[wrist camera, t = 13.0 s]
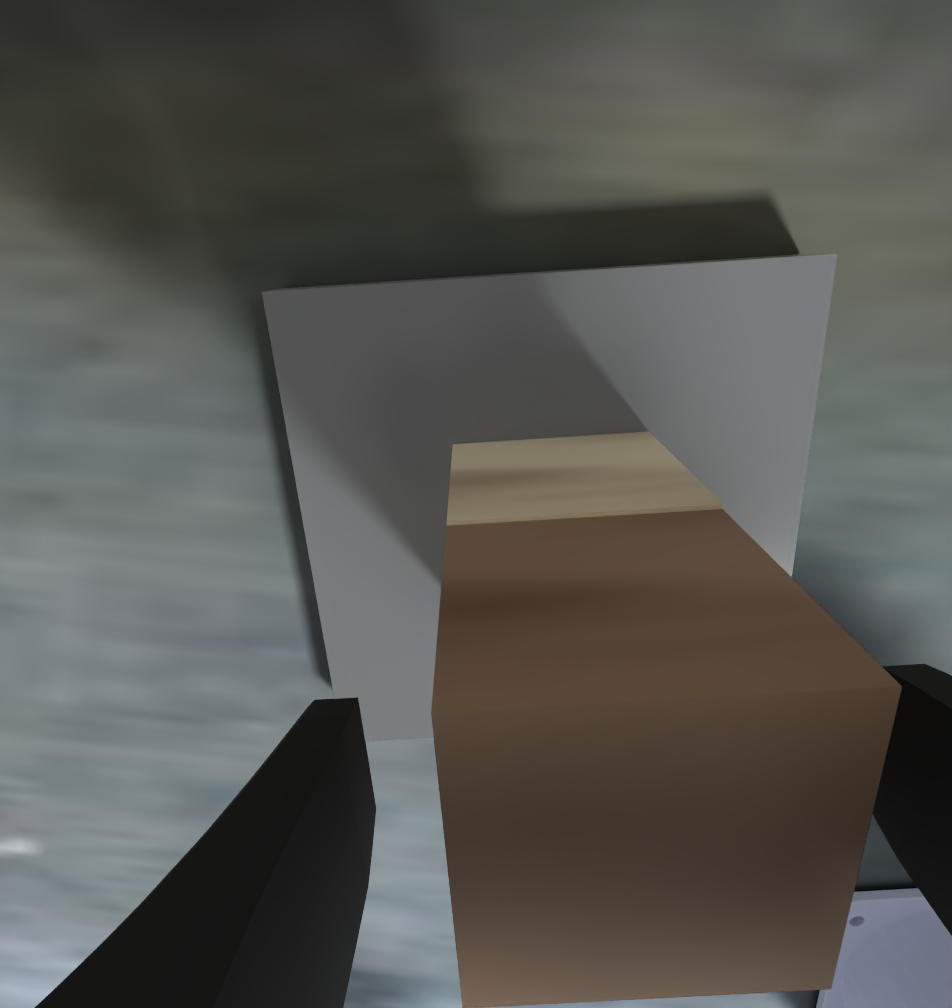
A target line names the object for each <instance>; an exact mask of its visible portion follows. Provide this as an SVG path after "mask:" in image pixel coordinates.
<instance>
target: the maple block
mask: <svg viewBox="0 0 952 1008" xmlns="http://www.w3.org/2000/svg"><path fill="white" fill-rule="evenodd" d="M715 509H724V504H723V503H722V502H721V501H720V500H719V499H718V498H717V497H716V496H715V495H714V494H713V493H712V492H711V491H710V490H709V489H708V488H707V487H706V486H705V485H704V484H703V483H702V482H701V481H699V480H698V479H697V478H696V477H695V476H694V475H693V474H692V473H691V472H690V471H689V470H688V469H687V468H686V467H685V466H684V465H683V464H682V463H681V462H680V461H679V460H678V459H677V458H676V457H675V456H674V455H673V454H671V453H670V452H669V451H668V450H667V449H666V448H665V447H664V446H663V445H662V444H661V443H660V442H659V441H658V440H657V439H656V438H655V437H654V436H653V435H652V434H651V433H650V432H635V433H619V434H604V435H589V436H573V437H558V438H543V439H527V440H512V441H497V442H481V443H466V444H453V446H452V459H451V472H450V484H449V497H448V510H447V526H448V525H465V524H481V523H498V522H515V521H531V520H548V519H565V518H581V517H598V516H615V515H631V514H648V513H665V512H681V511H698V510H715Z"/></svg>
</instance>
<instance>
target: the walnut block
mask: <svg viewBox="0 0 952 1008" xmlns="http://www.w3.org/2000/svg"><path fill="white" fill-rule="evenodd" d="M901 689H902V686H901V685H900V684H899V683H898V682H897V681H896V680H895V679H894V678H893V677H892V676H891V675H890V674H889V673H888V672H887V671H886V670H885V669H884V668H883V667H882V666H881V665H880V664H879V663H878V662H877V661H876V660H875V659H874V658H873V657H872V656H871V655H870V654H869V653H868V652H867V651H866V650H865V649H864V648H863V647H862V646H861V645H860V644H859V643H858V642H857V641H855V640H854V639H853V638H852V637H851V636H850V635H849V634H848V633H847V632H846V631H845V630H844V629H843V628H842V627H841V626H840V625H839V624H838V623H837V622H836V621H835V620H834V619H833V618H832V617H831V616H830V615H829V614H828V613H827V612H826V611H825V610H824V609H823V608H822V607H821V606H820V605H819V604H818V603H817V602H816V601H815V600H814V599H813V598H812V597H811V596H810V595H809V594H808V593H807V592H806V591H805V590H804V589H803V588H802V587H801V586H800V585H799V584H798V583H797V582H796V581H795V580H794V579H793V578H792V577H791V576H790V575H789V574H788V573H787V572H786V571H785V570H784V569H783V568H782V567H781V566H780V565H779V564H778V563H777V562H776V561H775V560H774V559H773V558H772V557H771V556H770V555H769V554H768V553H766V552H765V551H764V550H763V549H762V548H761V547H760V546H759V545H758V544H757V543H756V542H755V541H754V540H753V539H752V538H751V537H750V536H749V535H748V534H747V533H746V532H745V531H744V530H743V529H742V528H741V527H740V526H739V525H738V524H737V523H736V522H735V521H734V520H733V519H732V518H731V517H730V516H729V515H728V514H727V513H726V512H725V511H724V510H723V509H715V510H698V511H681V512H665V513H648V514H631V515H615V516H598V517H581V518H565V519H548V520H531V521H515V522H498V523H481V524H465V525H448V526H446V532H445V545H444V557H443V570H442V582H441V595H440V608H439V620H438V633H437V646H436V658H435V671H434V683H433V696H432V709H431V717H432V726H433V736H434V745H435V754H436V764H437V773H438V782H439V792H440V801H441V810H442V820H443V829H444V838H445V848H446V857H447V866H448V876H449V885H450V894H451V904H452V913H453V922H454V932H455V941H456V950H457V959H458V969H459V978H460V987H461V997H462V1006H463V1008H481V1007H500V1006H520V1005H539V1004H558V1003H577V1002H596V1001H615V1000H634V999H653V998H673V997H692V996H711V995H730V994H749V993H768V992H787V991H806V990H826V989H831V988H832V983H833V979H834V975H835V971H836V966H837V962H838V958H839V954H840V949H841V945H842V941H843V937H844V932H845V928H846V924H847V919H848V915H849V911H850V907H851V902H852V898H853V894H854V890H855V885H856V881H857V877H858V873H859V868H860V864H861V860H862V855H863V851H864V847H865V843H866V838H867V834H868V830H869V826H870V821H871V817H872V813H873V809H874V804H875V800H876V796H877V791H878V787H879V783H880V779H881V774H882V770H883V766H884V762H885V757H886V753H887V749H888V745H889V740H890V736H891V732H892V727H893V723H894V719H895V715H896V710H897V706H898V702H899V698H900V693H901Z"/></svg>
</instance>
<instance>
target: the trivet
mask: <svg viewBox="0 0 952 1008" xmlns="http://www.w3.org/2000/svg"><path fill="white" fill-rule="evenodd" d="M836 260H837V254H794V255H779V256H764V257H749V258H734V259H719V260H703V261H688V262H673V263H658V264H643V265H628V266H613V267H598V268H583V269H568V270H552V271H537V272H522V273H507V274H492V275H477V276H462V277H447V278H432V279H417V280H402V281H386V282H371V283H356V284H341V285H326V286H311V287H296V288H281V289H275V290H270V291H264V292H262V297H263V302H264V308H265V313H266V319H267V325H268V330H269V336H270V341H271V347H272V353H273V358H274V364H275V369H276V375H277V380H278V386H279V392H280V397H281V403H282V408H283V414H284V420H285V425H286V431H287V436H288V442H289V448H290V453H291V459H292V464H293V470H294V475H295V481H296V487H297V492H298V498H299V503H300V509H301V515H302V520H303V526H304V531H305V537H306V543H307V548H308V554H309V559H310V565H311V570H312V576H313V582H314V587H315V593H316V598H317V604H318V610H319V615H320V621H321V626H322V632H323V638H324V643H325V649H326V654H327V660H328V665H329V671H330V677H331V682H332V688H333V693H334V699H339V698H356V697H358V700H359V706H360V712H361V718H362V724H363V731H364V737H365V741H381V740H398V739H415V738H432V737H434V736H433V726H432V717H431V709H432V696H433V683H434V671H435V658H436V646H437V633H438V620H439V608H440V595H441V582H442V570H443V557H444V545H445V532H446V526H447V510H448V497H449V484H450V472H451V459H452V446H453V444H466V443H481V442H497V441H512V440H527V439H543V438H558V437H573V436H589V435H604V434H619V433H635V432H650V433H651V434H652V435H653V436H654V437H655V438H656V439H657V440H658V441H659V442H660V443H661V444H662V445H663V446H664V447H665V448H666V449H667V450H668V451H669V452H670V453H671V454H673V455H674V456H675V457H676V458H677V459H678V460H679V461H680V462H681V463H682V464H683V465H684V466H685V467H686V468H687V469H688V470H689V471H690V472H691V473H692V474H693V475H694V476H695V477H696V478H697V479H698V480H699V481H701V482H702V483H703V484H704V485H705V486H706V487H707V488H708V489H709V490H710V491H711V492H712V493H713V494H714V495H715V496H716V497H717V498H718V499H719V500H720V501H721V502H722V503H723V504H724V509H723V510H724V511H725V512H726V513H727V514H728V515H729V516H730V517H731V518H732V519H733V520H734V521H735V522H736V523H737V524H738V525H739V526H740V527H741V528H742V529H743V530H744V531H745V532H746V533H747V534H748V535H749V536H750V537H751V538H752V539H753V540H754V541H755V542H756V543H757V544H758V545H759V546H760V547H761V548H762V549H763V550H764V551H765V552H766V553H768V554H769V555H770V556H771V557H772V558H773V559H774V560H775V561H776V562H777V563H778V564H779V565H780V566H781V567H782V568H783V569H784V570H785V571H786V572H787V573H788V574H789V575H790V576H791V577H792V572H793V565H794V558H795V550H796V543H797V536H798V529H799V522H800V515H801V508H802V501H803V494H804V487H805V480H806V473H807V465H808V458H809V451H810V444H811V437H812V430H813V423H814V416H815V409H816V402H817V395H818V388H819V380H820V373H821V366H822V359H823V352H824V345H825V338H826V331H827V324H828V317H829V310H830V303H831V295H832V288H833V281H834V274H835V267H836Z"/></svg>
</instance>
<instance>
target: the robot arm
mask: <svg viewBox="0 0 952 1008" xmlns="http://www.w3.org/2000/svg"><path fill="white" fill-rule="evenodd" d="M882 667H883V668H884V669H885V670H886V671H887V672H888V673H889V674H890V675H891V676H892V677H893V678H894V679H895V680H896V681H897V682H898V683H899V684H900V685H901V686H902V689H901V693H900V698H899V702H898V706H897V710H896V715H895V719H894V723H893V727H892V732H891V736H890V740H889V745H888V749H887V753H886V757H885V762H884V766H883V770H882V774H881V779H880V783H879V787H878V791H877V796H876V800H875V804H874V809H873V813H872V814H873V815H874V817H875V819H876V821H877V823H878V825H879V827H880V828H881V830H882V832H883V834H884V835H885V837H886V839H887V841H888V842H889V844H890V846H891V848H892V850H893V851H894V853H895V855H896V857H897V858H898V859H899V861H900V862H901V864H902V865H903V867H904V868H905V870H906V871H907V873H908V874H909V876H910V877H911V879H912V880H913V882H914V883H915V884H916V886H917V887H918V888H913V889H895V890H877V891H859V892H854V894H853V898H852V902H851V907H850V911H849V915H848V919H847V924H846V928H845V932H844V937H843V941H842V945H841V949H840V954H839V958H838V962H837V966H836V971H835V975H834V979H833V983H832V988H831V989H826V990H820V992H819V997H818V1001H817V1006H816V1008H952V676H951V675H949V674H947V673H945V672H942V671H940V670H938V669H935V668H933V667H931V666H928V665H926V664H916V665H899V666H882ZM375 814H376V805H375V799H374V792H373V786H372V780H371V774H370V768H369V762H368V755H367V749H366V743H365V737H364V731H363V724H362V718H361V712H360V706H359V700H358V697H356V698H339V699H322V700H314V701H313V702H312V703H311V704H310V705H309V706H308V708H307V709H306V710H305V711H304V713H303V714H302V715H301V716H300V718H299V719H298V720H297V721H296V723H295V724H294V725H293V726H292V728H291V729H290V730H289V732H288V733H287V734H286V735H285V737H284V738H283V739H282V740H281V742H280V743H279V744H278V746H277V747H276V748H275V749H274V751H273V752H272V753H271V754H270V756H269V757H268V758H267V759H266V761H265V762H264V763H263V764H262V766H261V767H260V768H259V769H258V771H257V772H256V773H255V774H254V776H253V777H252V778H251V779H250V780H249V782H248V783H247V784H246V785H245V786H244V788H243V789H242V790H241V791H240V792H239V794H238V795H237V796H236V797H235V798H234V799H233V801H232V802H231V803H230V804H229V805H228V807H227V808H226V809H225V810H224V811H223V813H222V814H221V815H220V816H219V817H218V819H217V820H216V821H215V822H214V823H213V824H212V826H211V827H210V828H209V829H208V830H207V831H206V833H205V834H204V835H203V836H202V837H201V838H200V839H199V841H198V842H197V843H196V844H195V845H194V846H193V847H192V848H191V849H190V850H189V851H188V853H187V854H186V855H185V856H184V857H183V858H182V859H181V860H180V861H179V862H178V864H177V865H176V866H175V867H174V868H173V869H172V870H171V871H170V872H169V873H168V874H167V876H166V877H165V878H164V879H163V880H162V881H161V882H160V883H159V884H158V885H157V886H156V888H155V889H154V890H153V891H152V892H151V893H150V894H149V895H148V896H147V897H146V898H145V900H144V901H143V902H142V903H141V904H140V905H139V906H138V907H137V908H136V909H135V910H134V911H133V912H132V913H131V914H130V915H129V916H128V917H127V918H126V919H125V920H124V921H123V922H122V923H121V924H120V925H119V926H118V927H117V928H116V929H115V931H114V932H113V933H112V934H111V935H110V936H109V937H108V938H107V939H106V940H105V941H104V942H103V943H102V944H101V945H100V946H99V947H98V948H97V949H96V950H95V951H94V952H93V953H91V954H90V955H89V956H88V957H87V958H86V959H85V960H84V961H83V962H82V963H81V964H80V965H79V966H78V967H77V968H76V969H75V970H74V971H73V972H72V973H71V974H70V975H69V976H68V977H67V978H66V979H65V980H64V981H62V982H61V983H60V984H59V985H58V986H57V987H56V988H55V989H54V990H53V991H52V992H51V993H50V994H49V995H48V996H47V997H46V998H45V999H44V1000H43V1001H41V1002H40V1003H39V1004H38V1005H37V1006H36V1007H35V1008H343V1006H344V1001H345V996H346V992H347V987H348V982H349V977H350V972H351V968H352V963H353V958H354V953H355V948H356V944H357V939H358V934H359V929H360V924H361V919H362V914H363V909H364V904H365V899H366V894H367V889H368V883H369V874H370V865H371V856H372V846H373V835H374V825H375Z"/></svg>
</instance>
